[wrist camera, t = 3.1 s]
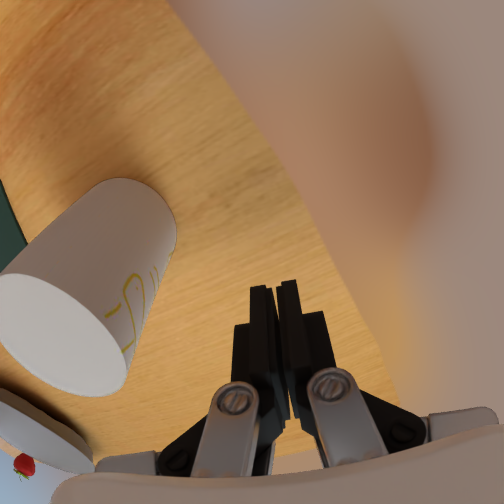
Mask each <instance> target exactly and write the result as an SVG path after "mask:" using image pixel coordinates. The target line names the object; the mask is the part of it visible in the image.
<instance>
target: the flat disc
mask: <svg viewBox="0 0 504 504" xmlns="http://www.w3.org/2000/svg"><path fill="white" fill-rule="evenodd" d="M0 437H1V438H2V439H4V440H5V441H6V442H8V443H9V444H11V445H12V446H14V447H15V448H17V449H18V450H20V451H22V452H23V453H25V454H27V455H29V456H30V457H32V458H34V459H36V460H38V461H40V462H42V463H45V464H47V465H49V466H52V467H54V468H57V469H60V470H63V471H66V472H71V473H74V474H80V475H82V474H87V473H94V471H95V466H94V464H93V454H92V451H91V449H90V447H89V446H88V445H86V442H85V441H84V440H83V439H82V437H81V436H79V435H78V434H76V433H75V432H74V431H73V430H72V429H70V428H69V427H67V426H66V425H63V424H62V423H60V422H57V421H56V420H53V419H52V418H51V417H49V416H48V415H47V414H45V413H44V412H43V411H41V410H39V409H37V408H35V407H34V406H33V405H31V404H30V403H29V402H28V401H26V400H24V399H22V398H20V397H19V396H17V395H15V394H12V393H11V392H9V391H8V390H4V389H2V388H0Z"/></svg>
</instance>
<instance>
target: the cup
mask: <svg viewBox="0 0 504 504" xmlns="http://www.w3.org/2000/svg"><path fill="white" fill-rule="evenodd" d="M176 239H177V230H176V223H175V220H174V217H173V214H172V212H171V210H170V208H169V206H168V205H167V203H166V202H165V201H164V199H163V198H162V197H161V196H160V195H159V194H158V193H157V192H156V191H154V190H153V189H152V188H150V187H149V186H147V185H145V184H143V183H141V182H139V181H136V180H133V179H128V178H113V179H108V180H105V181H103V182H100V183H99V184H97V185H96V186H94V187H93V188H92V189H90V190H89V191H88V192H87V193H85V194H84V195H83V196H82V197H81V198H79V199H78V200H77V201H76V202H75V203H73V204H72V205H71V206H70V207H69V208H68V209H66V210H65V211H64V212H63V213H62V214H61V215H60V216H58V217H57V218H56V219H55V220H54V221H53V222H52V223H51V224H50V225H48V226H47V227H46V228H45V229H44V230H43V231H42V232H41V233H40V234H39V235H38V236H37V237H36V238H35V239H33V240H32V241H31V242H30V243H29V244H28V245H27V246H26V247H25V248H24V249H23V250H22V251H21V252H20V253H19V254H18V255H17V256H16V257H15V258H14V259H13V260H12V261H11V262H10V263H9V264H8V265H7V267H6V268H5V269H4V270H3V271H2V272H1V273H0V341H1V343H2V344H3V346H4V347H5V348H6V350H7V351H8V352H9V353H10V354H11V355H12V356H13V358H14V359H15V360H16V361H17V362H19V363H20V364H21V365H22V366H23V367H24V368H25V369H27V370H28V371H29V372H30V373H32V374H33V375H35V376H36V377H37V378H39V379H41V380H42V381H44V382H46V383H47V384H49V385H51V386H53V387H55V388H58V389H60V390H62V391H65V392H68V393H71V394H75V395H79V396H85V397H103V396H107V395H110V394H113V393H115V392H116V391H118V390H119V389H120V388H121V387H122V386H123V384H124V382H125V380H126V377H127V374H128V371H129V368H130V365H131V362H132V359H133V356H134V353H135V350H136V348H137V345H138V342H139V339H140V336H141V333H142V331H143V328H144V325H145V322H146V320H147V317H148V314H149V312H150V309H151V306H152V304H153V301H154V299H155V296H156V293H157V291H158V288H159V286H160V283H161V281H162V278H163V276H164V273H165V271H166V268H167V266H168V263H169V261H170V258H171V256H172V253H173V251H174V248H175V245H176Z"/></svg>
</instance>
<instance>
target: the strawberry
mask: <svg viewBox="0 0 504 504" xmlns="http://www.w3.org/2000/svg"><path fill="white" fill-rule="evenodd" d="M14 467H15V469H16V470H15V469H14V471H15V472H16V473H18V474H20V475H22V476H23V477H25V478H27V477H28V476H32V475H34V473H35V464H34V460H33V458H32V457H30V456H29V455H27V454H25V453H22V454H20V455H19V456H17V457H16V459H15V460H14ZM27 479H28V478H27Z"/></svg>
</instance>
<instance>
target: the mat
mask: <svg viewBox="0 0 504 504" xmlns="http://www.w3.org/2000/svg"><path fill="white" fill-rule="evenodd" d="M27 245H28V244H27V242H26V240H25V238H24V235H23V233H22V231H21V229H20V227H19V224H18V222H17V220H16V218H15V215H14V213H13V211H12V208H11V206H10V203H9V201H8V198H7V196H6V193H5V191H4V188H3V185H2V183H1V180H0V273H1V272H2V271H3V270H4V269H5V268H6V267H7V265H8V264H9V263H10V262H11V261H12V260H13V259H14V258H15V257H16V256H17V255H18V254H19V253H20V252H21V251H22V250H23V249H24V248H25V247H26V246H27Z"/></svg>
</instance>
